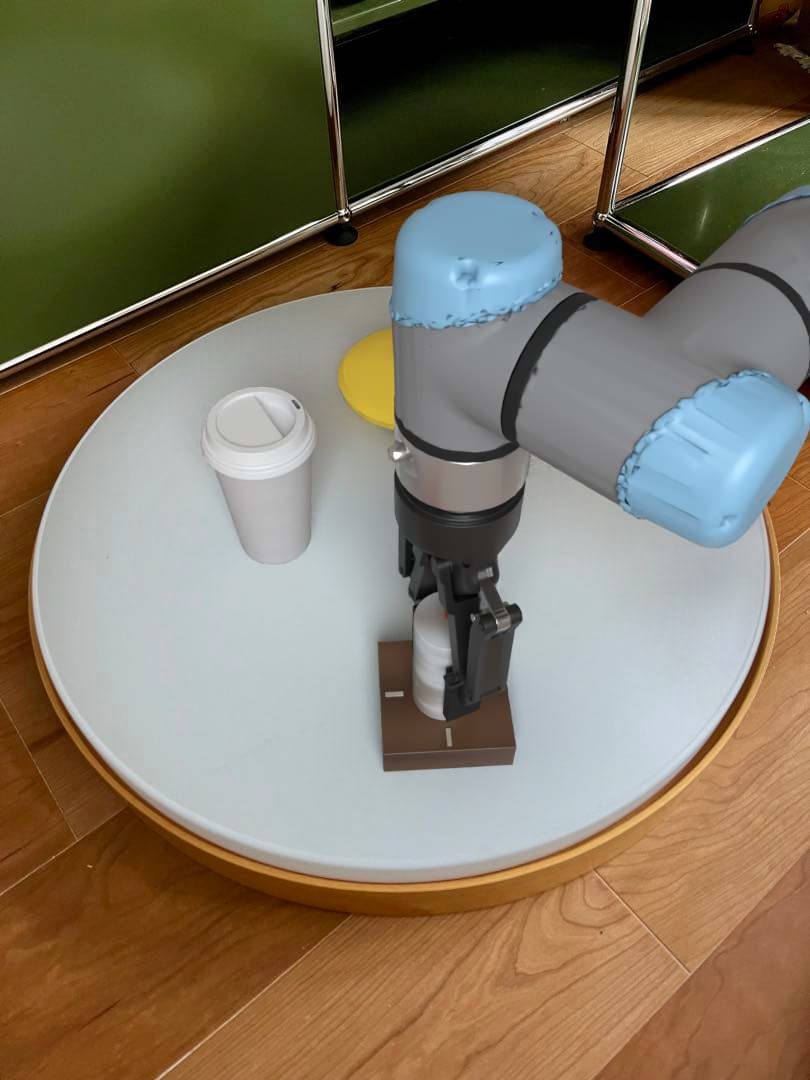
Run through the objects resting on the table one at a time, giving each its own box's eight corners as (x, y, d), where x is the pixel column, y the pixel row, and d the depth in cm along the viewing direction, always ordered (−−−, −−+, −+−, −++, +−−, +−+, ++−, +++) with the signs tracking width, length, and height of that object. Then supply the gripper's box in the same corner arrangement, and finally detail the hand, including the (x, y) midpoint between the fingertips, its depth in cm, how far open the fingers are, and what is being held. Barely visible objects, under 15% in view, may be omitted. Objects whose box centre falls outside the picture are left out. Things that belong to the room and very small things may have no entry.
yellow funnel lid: (379, 466, 90) (377, 414, 84) (315, 375, 98) (310, 322, 93) (513, 417, 94) (520, 364, 89) (440, 333, 103) (442, 281, 98)
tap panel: (512, 765, 69) (516, 746, 67) (383, 772, 69) (383, 753, 66) (496, 654, 76) (499, 634, 73) (378, 660, 75) (377, 640, 73)
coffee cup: (331, 572, 81) (319, 455, 70) (225, 583, 80) (195, 467, 69) (323, 494, 87) (311, 375, 76) (224, 504, 86) (196, 385, 75)
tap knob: (479, 718, 68) (489, 645, 60) (414, 722, 68) (415, 649, 60) (472, 662, 72) (481, 586, 64) (410, 665, 71) (411, 589, 63)
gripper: (341, 389, 55) (356, 607, 73) (470, 612, 44) (451, 803, 62) (451, 358, 57) (439, 578, 75) (601, 564, 46) (545, 763, 64)
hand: (445, 680), depth 69 cm, fingers closed on tap knob, 5 cm apart
